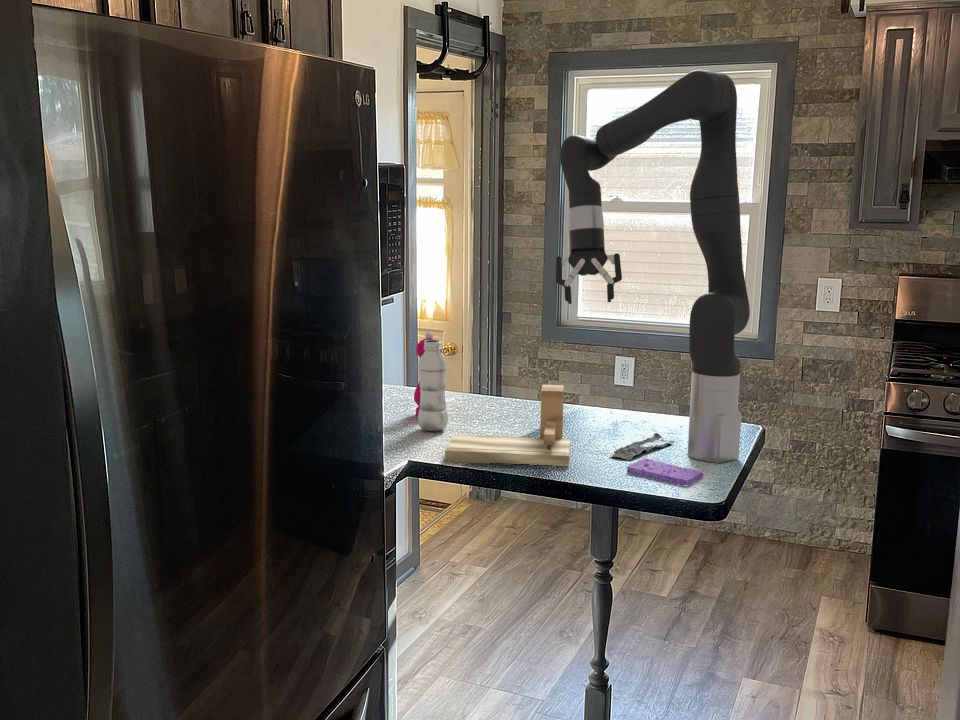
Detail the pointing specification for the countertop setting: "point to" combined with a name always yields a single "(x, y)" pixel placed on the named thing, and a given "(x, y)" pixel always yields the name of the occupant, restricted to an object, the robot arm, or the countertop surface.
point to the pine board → (507, 450)
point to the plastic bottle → (432, 387)
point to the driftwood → (637, 447)
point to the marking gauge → (551, 413)
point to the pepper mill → (420, 352)
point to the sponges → (664, 472)
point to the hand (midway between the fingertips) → (589, 303)
